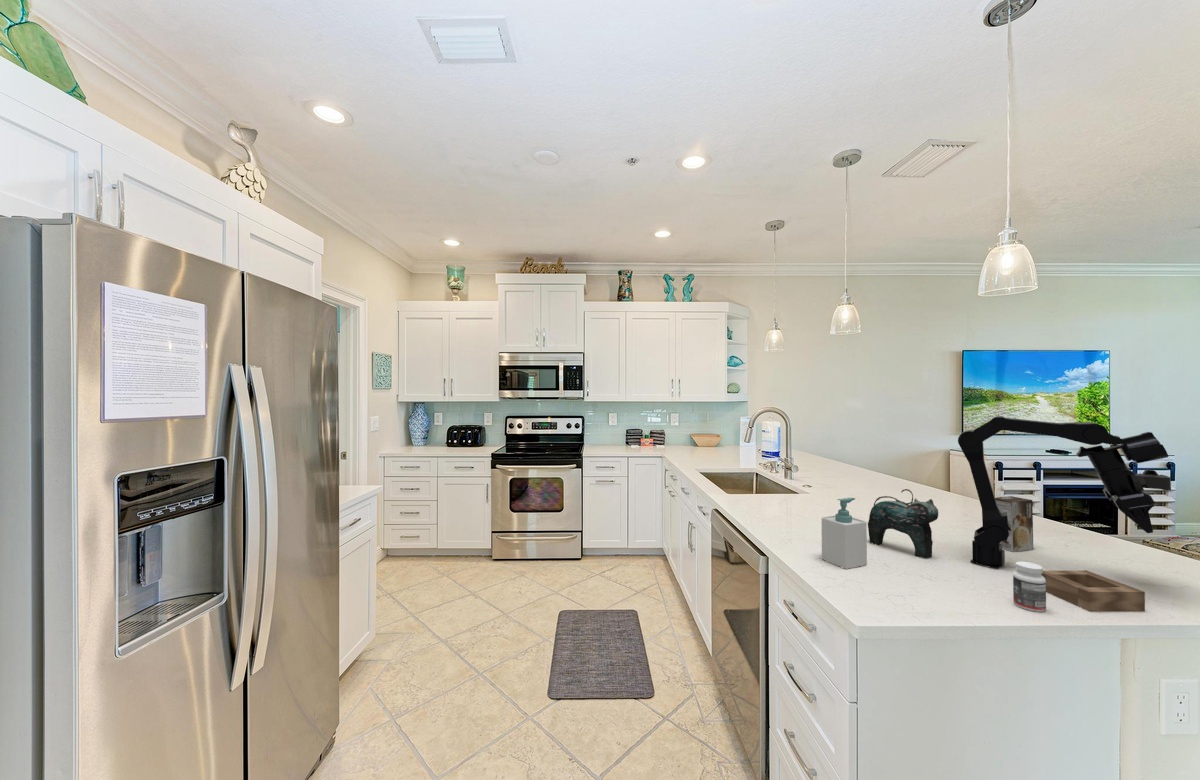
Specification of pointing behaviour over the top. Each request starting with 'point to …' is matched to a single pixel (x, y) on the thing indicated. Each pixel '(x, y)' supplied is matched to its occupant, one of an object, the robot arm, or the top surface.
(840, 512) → the soap bottle
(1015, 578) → the pill bottle
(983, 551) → the robot arm
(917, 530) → the ceramic cat
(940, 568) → the top surface
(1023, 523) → the coffee box
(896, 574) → the top surface
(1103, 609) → the walnut socket
